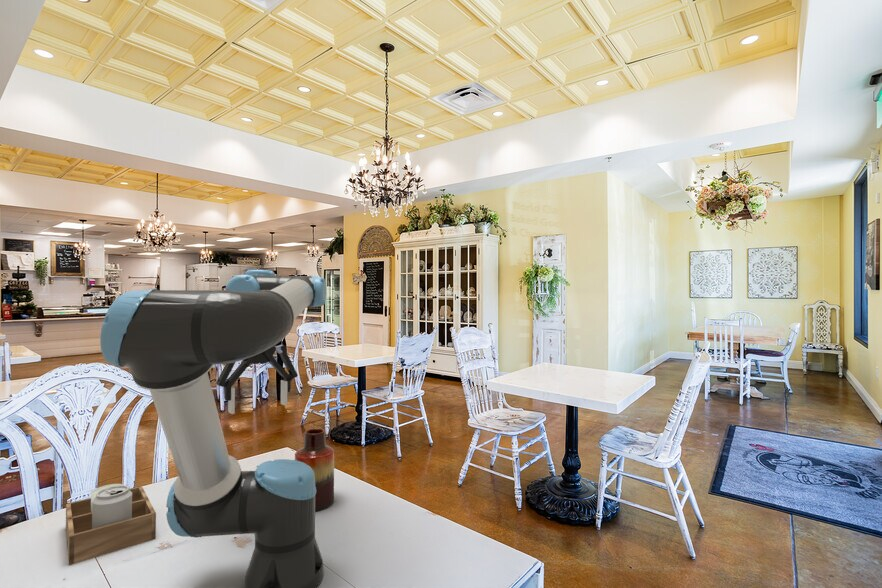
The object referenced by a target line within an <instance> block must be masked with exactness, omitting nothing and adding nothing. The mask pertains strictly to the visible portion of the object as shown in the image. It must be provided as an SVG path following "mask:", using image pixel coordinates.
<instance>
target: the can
mask: <svg viewBox="0 0 882 588" xmlns="http://www.w3.org/2000/svg"><path fill="white" fill-rule="evenodd" d="M129 489H130V486H128V485H124V484H123V485H118V486H112V487H108V488H105V489H102V490H100V491H99V492H97V493H96V497H95V498H94V500H93V501H92V529H95V528H98V527H102V526H106V525H109V524H113V523H117V522H120V521H124V520H128V519H131V518H132V492H131V491H130V490H129Z"/></svg>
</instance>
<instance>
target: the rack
mask: <svg viewBox="0 0 882 588" xmlns="http://www.w3.org/2000/svg"><path fill="white" fill-rule="evenodd" d="M144 489H145V488H143V486H142V485H140V486H136V487H135V486H134V487H132V488H129V490H130V491H131V492H132V518H131V519H128V520H124V521H120V522H117V523H113V524H109V525H106V526H102V527H98V528H95V529H92V512H91V497H89V498H85V499H79V500H75V501H72V502H71V501H70V502H67V503H65V535H66V544H67V545H66V548H67V558H68V566H73V565H76V564H79V563H82V562H86V561H88V560H92V559H95V558H99V557H102V556H105V555H108V554H111V553H114V552H118V551H121V550H124V549H127V548H131V547H134V546H137V545H141V544H143V543H148V542H150V541H153V540H157V539H156V538H157V537H156V535H157V512H156V510H155V509H154V506H153V505H152V502H151V501H150V499H149V497H148V495H147V493H146V491H145V490H144Z"/></svg>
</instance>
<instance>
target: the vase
mask: <svg viewBox="0 0 882 588" xmlns="http://www.w3.org/2000/svg"><path fill="white" fill-rule="evenodd" d="M303 440H304V441H303V447H301V448H299V449H297V450H296V452H295V453H294V460H296V461H300V462H303V463H305V464H306V465H308V466H310V467H311V468H312V470H313V471H314V474H315V487H316V495H315V513H316V512H320V511H323V510H326V509H328V508H330V507H331V506H332V505H333V504H334V500H335V450H334V449H333V447H331V446H329V445H327V444H326V432H325V429H323V428H311V429H309V428H308V429H307V430H305V431H304V439H303Z"/></svg>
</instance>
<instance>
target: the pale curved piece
mask: <svg viewBox="0 0 882 588" xmlns="http://www.w3.org/2000/svg"><path fill="white" fill-rule="evenodd" d="M118 485H124V484H123V483H111V484H106V485H101V486H99V487H96V488H94V489H93V490H91V492H90V498H91V512H92V501H93V500H94V498H95V497H96V493H97V492H99V491H100V490H102V489H105V488H108V487H112V486H118Z"/></svg>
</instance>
